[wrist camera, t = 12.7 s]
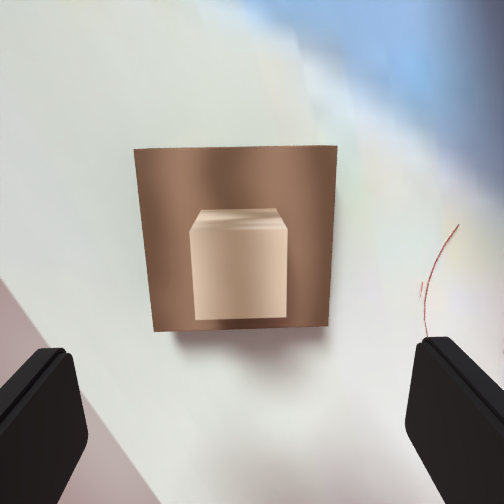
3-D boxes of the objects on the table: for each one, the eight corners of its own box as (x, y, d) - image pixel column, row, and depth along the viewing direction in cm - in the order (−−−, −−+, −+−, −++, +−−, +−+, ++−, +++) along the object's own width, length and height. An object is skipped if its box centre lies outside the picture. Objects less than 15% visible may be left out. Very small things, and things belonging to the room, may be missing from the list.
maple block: (275, 208, 24) (287, 229, 18) (275, 277, 25) (286, 317, 20) (201, 209, 24) (189, 231, 18) (205, 279, 25) (195, 319, 19)
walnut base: (323, 145, 27) (337, 145, 23) (316, 303, 30) (327, 326, 27) (148, 148, 26) (133, 149, 22) (164, 307, 30) (153, 331, 26)
